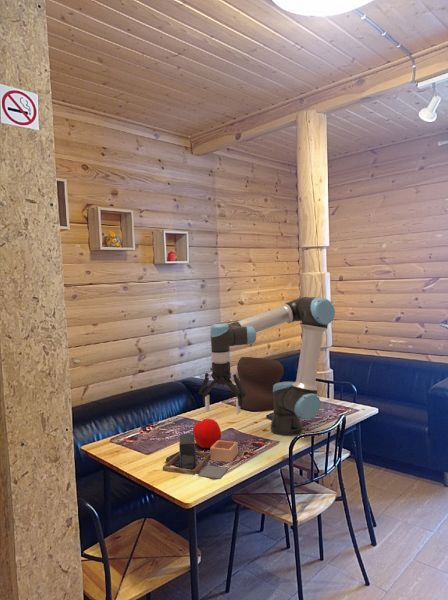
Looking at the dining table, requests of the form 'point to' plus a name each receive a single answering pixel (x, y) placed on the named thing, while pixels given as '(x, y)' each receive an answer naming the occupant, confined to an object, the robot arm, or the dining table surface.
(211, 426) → the red round ball
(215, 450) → the terracotta pot
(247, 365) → the vase
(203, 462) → the tray
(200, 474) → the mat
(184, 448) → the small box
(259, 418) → the dining table surface
